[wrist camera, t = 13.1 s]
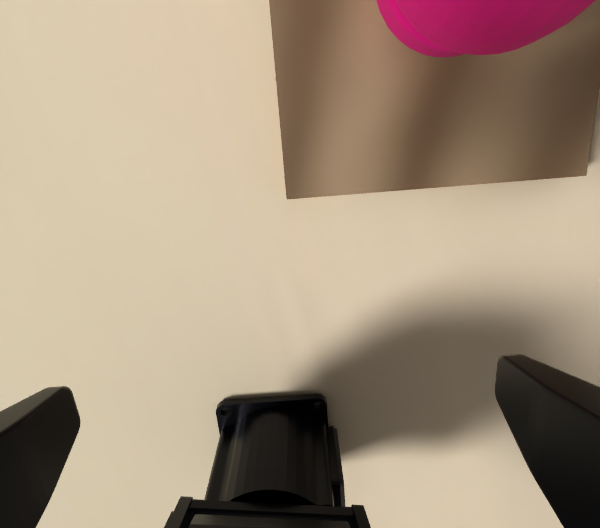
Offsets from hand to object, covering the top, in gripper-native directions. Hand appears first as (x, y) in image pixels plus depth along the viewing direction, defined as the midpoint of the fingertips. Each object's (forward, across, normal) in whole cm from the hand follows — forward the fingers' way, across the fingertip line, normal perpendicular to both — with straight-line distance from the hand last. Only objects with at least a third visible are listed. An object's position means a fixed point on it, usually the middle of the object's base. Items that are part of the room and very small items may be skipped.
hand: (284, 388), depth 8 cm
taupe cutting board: (+13, -7, -9) cm, 17 cm away
